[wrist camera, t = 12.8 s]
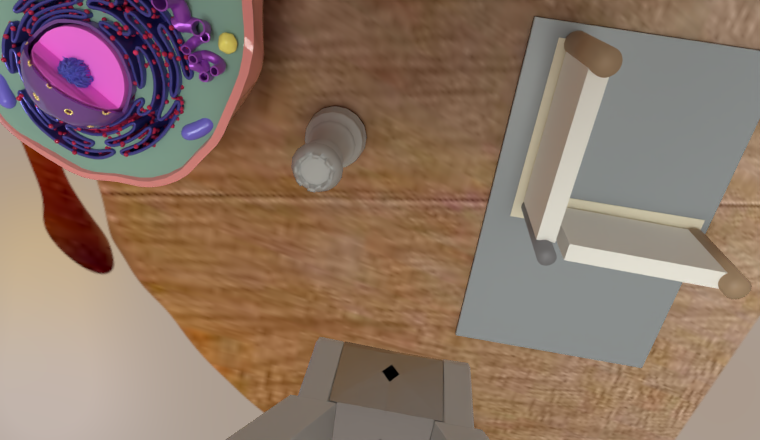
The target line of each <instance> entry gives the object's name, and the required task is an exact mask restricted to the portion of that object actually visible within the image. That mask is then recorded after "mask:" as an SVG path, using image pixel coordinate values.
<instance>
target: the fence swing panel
mask: <svg viewBox="0 0 760 440" xmlns="http://www.w3.org/2000/svg"><path fill="white" fill-rule="evenodd" d="M556 241H557V244H558V246H559V249H560V251H561V254H562V256H563V259H564V260H566V261H571V262H577V263H582V264H588V265H593V266H598V267H604V268H609V269H615V270H620V271H626V272H631V273H637V274H642V275H647V276H653V277H658V278H664V279H669V280H675V281H680V282H685V283H691V284H696V285H702V286H707V287H713V288H718V289H720V290H721V291H722V293H723V294H724V295H725V296H726V297H727V298H729V299H740V298H743V297H745V296H746V295H747V294H748V293H749V292H750V291H751V287H752V285H751V282H750V281H749V280H748V279H747V278H746V277H745V276H744V275H743V274H742V273H741V272H740V271H739V270H738V269H737V268H736V266H735V265H734V264H733V263H732V262H731V261H730V260H729V259H728V258H727V257H726V256H725V255H724V254H723V253H722V252H721V251H720V250H719V249H718V248H717V246H716V245H715V244H714V243H713V242H712V241H711V240H710V239H709V238H708V237H707V236H706V235H705V234H704V233H703V232H702V231H701V230H700V229H697V228H692V229H683V228H677V227H672V226H666V225H660V224H655V223H649V222H644V221H638V220H633V219H627V218H622V217H616V216H611V215H605V214H600V213H594V212H589V211H583V210H577V209H572V208H566V211H565V214H564V217H563V220H562V223H561V226H560V229H559V232H558V235H557V238H556Z"/></svg>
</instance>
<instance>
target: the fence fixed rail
mask: <svg viewBox="0 0 760 440" xmlns="http://www.w3.org/2000/svg"><path fill="white" fill-rule="evenodd" d="M564 49H565V51H566V54H565V57H564V61H563V64H562V68H561V71H560V75H559V78H558V82H557V85H556V89H555V93H554V96H553V100H552V103H551V107H550V110H549V114H548V117H547V121H546V124H545V128H544V131H543V135H542V138H541V142H540V145H539V149H538V153H537V156H536V160H535V163H534V167H533V170H532V174H531V177H530V181H529V184H528V188H527V191H526V195H525V198H524V202H523V203H522V206H521V209H522V212H523V216H524V219H525V222H526V225H527V229H528V232H529V235H530V238H531V242H532V245H533V248H534V251H535V255H536V258H537V261H538V262H539V263H540V264H541V265H544V266H548V265H551V264H553V263H554V262H555V261H556V259H557V255H556V252H555V249H554V247H553V244H552V242H553V243H555V242H556V238H557V235H558V232H559V229H560V226H561V223H562V220H563V217H564V214H565V211H566V208H567V205H568V202H569V199H570V196H571V193H572V189H573V186H574V183H575V180H576V177H577V174H578V171H579V168H580V165H581V162H582V159H583V156H584V153H585V150H586V147H587V143H588V140H589V137H590V134H591V131H592V128H593V125H594V122H595V119H596V116H597V113H598V110H599V107H600V104H601V101H602V98H603V94H604V91H605V88H606V85H607V82H608V79H609V77H610V76H612V75H614V74H616V73H617V72H618V71H619V69H620V68H621V65H622V61H623V58H622V54H621V52H620V51H619V50H618V49H617V48H615V47H613V46H611V45H609V44H607V43H605V42H603V41H601V40H599V39H597V38H595V37H593V36H591V35H589V34H587V33H585V32H583V31H579V30H578V31H573V32H571V33H570V34H569V35H568V36H567V37H566V39H565V42H564Z"/></svg>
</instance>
